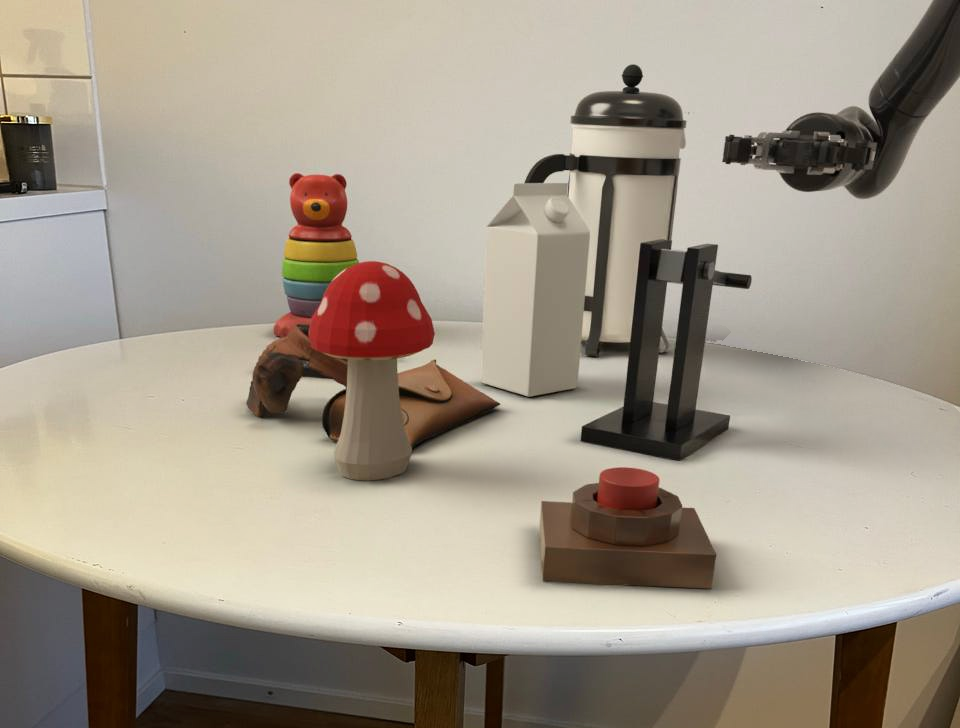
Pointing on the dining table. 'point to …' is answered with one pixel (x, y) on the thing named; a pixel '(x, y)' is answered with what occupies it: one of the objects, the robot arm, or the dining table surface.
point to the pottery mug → (289, 371)
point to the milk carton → (534, 292)
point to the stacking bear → (314, 246)
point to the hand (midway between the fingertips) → (778, 152)
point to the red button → (628, 489)
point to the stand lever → (674, 268)
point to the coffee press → (620, 194)
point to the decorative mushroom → (371, 362)
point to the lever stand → (640, 418)
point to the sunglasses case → (422, 403)
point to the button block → (624, 543)
